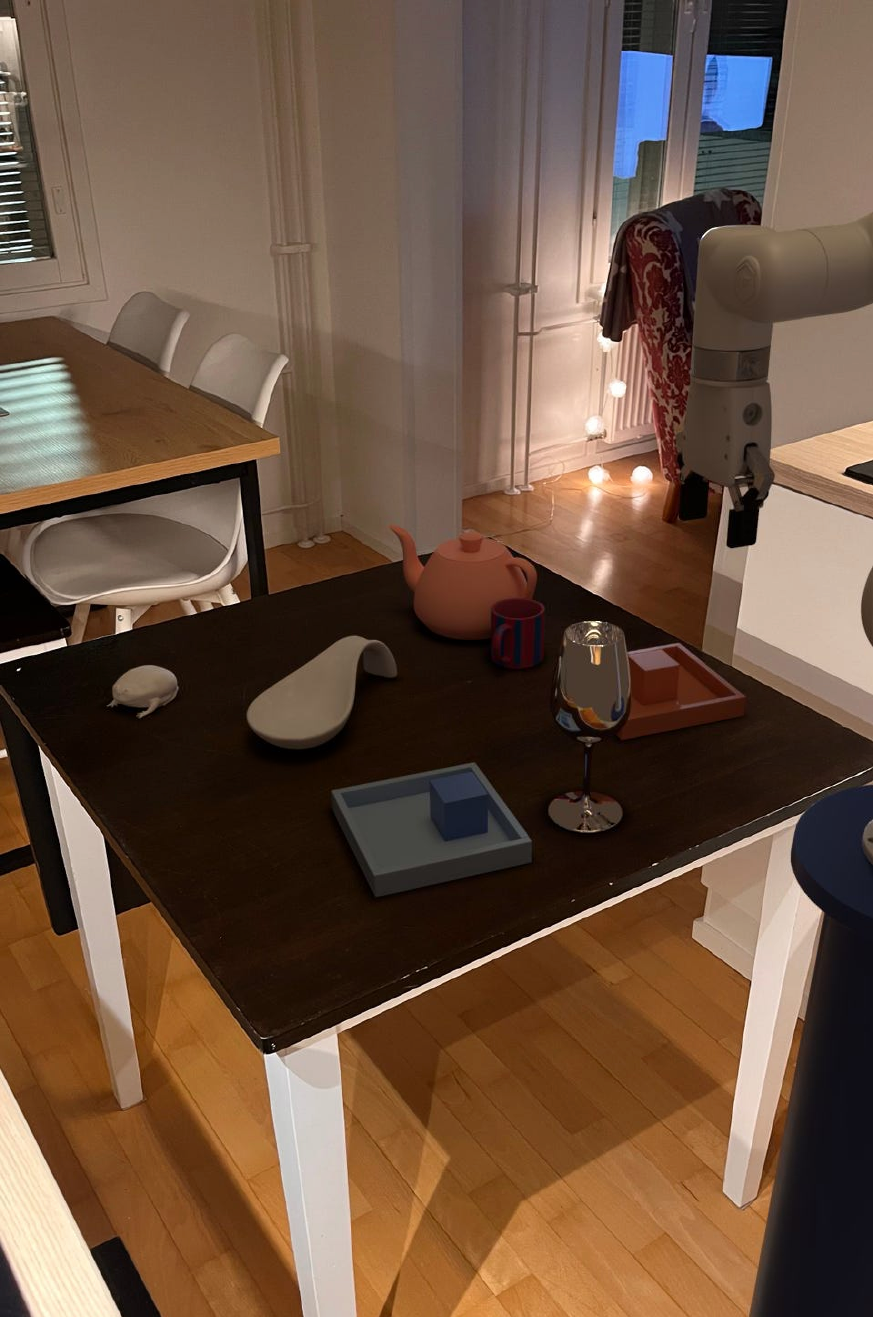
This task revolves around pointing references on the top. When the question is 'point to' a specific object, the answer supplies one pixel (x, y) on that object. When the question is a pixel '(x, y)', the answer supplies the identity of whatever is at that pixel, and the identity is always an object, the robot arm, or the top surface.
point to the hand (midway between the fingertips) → (715, 531)
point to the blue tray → (422, 833)
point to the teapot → (463, 583)
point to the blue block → (458, 806)
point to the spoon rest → (317, 695)
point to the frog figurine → (145, 688)
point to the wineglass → (590, 714)
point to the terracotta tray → (685, 698)
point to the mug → (517, 633)
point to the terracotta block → (653, 677)
